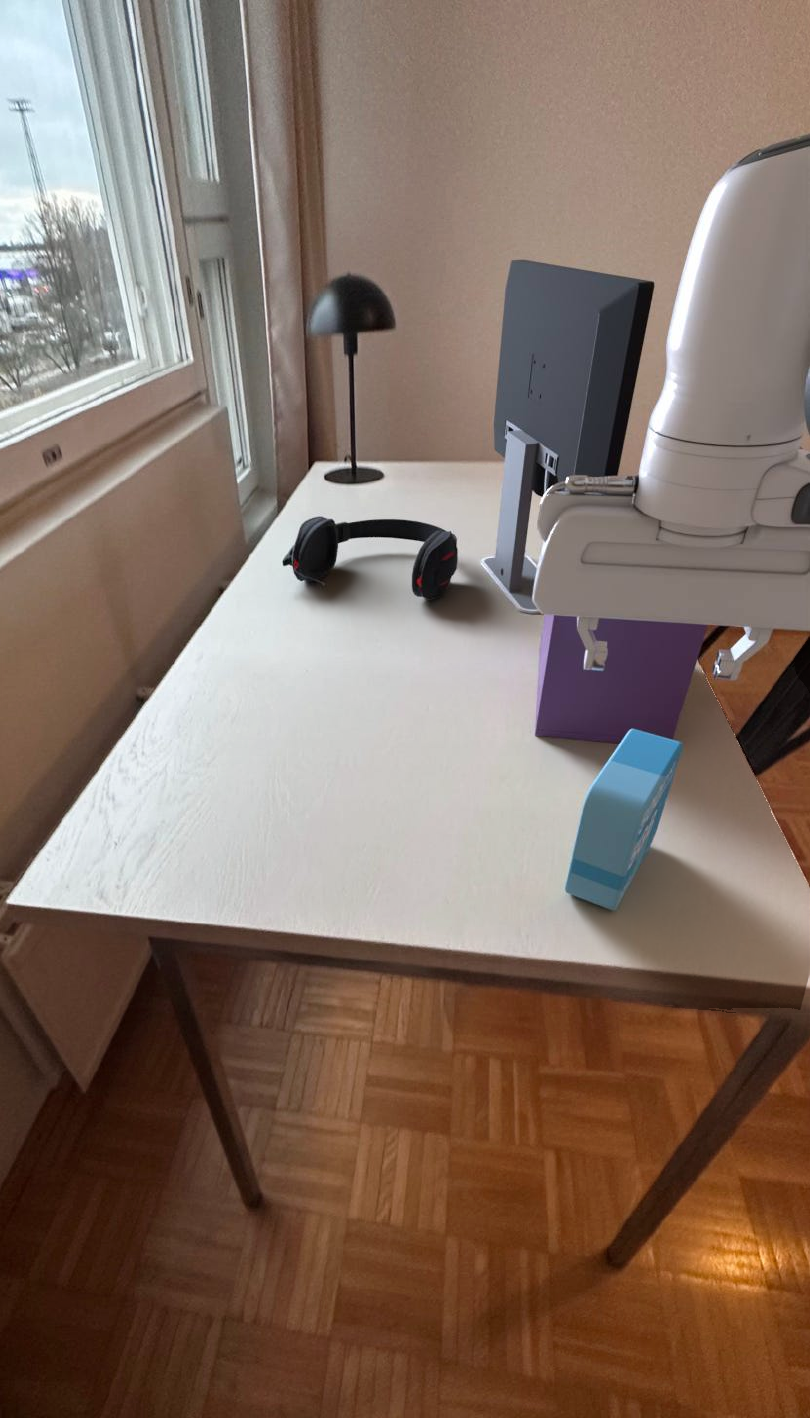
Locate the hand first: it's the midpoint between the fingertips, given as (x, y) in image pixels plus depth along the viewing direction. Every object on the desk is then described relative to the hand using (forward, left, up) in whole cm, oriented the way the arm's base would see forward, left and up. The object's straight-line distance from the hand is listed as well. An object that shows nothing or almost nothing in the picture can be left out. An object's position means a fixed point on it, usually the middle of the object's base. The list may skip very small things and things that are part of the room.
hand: (657, 671), depth 56 cm
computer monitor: (+10, -64, -20) cm, 68 cm away
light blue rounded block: (0, +1, -20) cm, 20 cm away
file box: (0, -31, -20) cm, 36 cm away
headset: (+35, -61, -20) cm, 73 cm away
